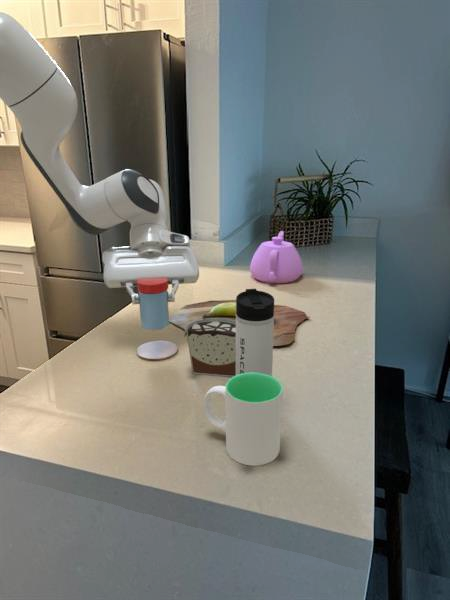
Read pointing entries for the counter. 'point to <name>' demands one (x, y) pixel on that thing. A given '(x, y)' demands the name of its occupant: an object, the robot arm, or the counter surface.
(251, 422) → the mug
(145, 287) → the lid
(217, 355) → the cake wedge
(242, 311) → the travel mug
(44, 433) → the counter surface
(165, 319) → the jar
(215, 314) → the cutting board
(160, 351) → the coaster
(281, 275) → the teapot
